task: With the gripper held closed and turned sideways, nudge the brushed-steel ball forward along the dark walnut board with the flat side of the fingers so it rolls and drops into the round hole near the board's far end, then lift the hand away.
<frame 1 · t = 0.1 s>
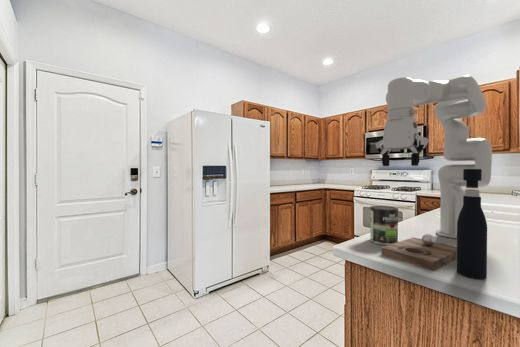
hand: (399, 165, 83), 31 cm above the worktop, fingers open, 9 cm apart
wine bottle: (471, 275, 68), on the worktop
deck: (421, 255, 84), on the worktop
ball: (428, 239, 86), point 4 cm above the worktop, touching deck
coffee can: (383, 241, 99), on the worktop
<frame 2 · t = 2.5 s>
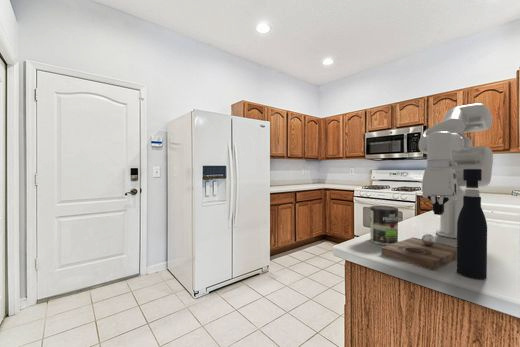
hand: (438, 214, 90), 13 cm above the worktop, fingers closed
nothing on the worktop moved.
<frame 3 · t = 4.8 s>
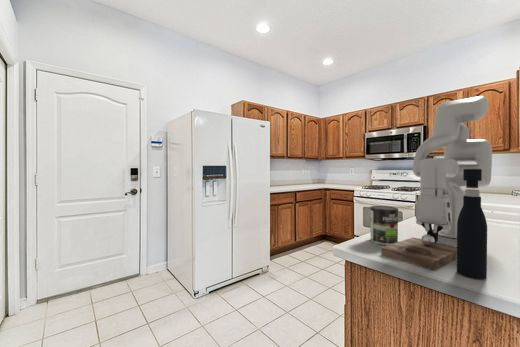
hand: (432, 242, 88), 3 cm above the worktop, fingers closed
ball: (427, 240, 86), point 5 cm above the worktop, tilted 9°, touching gripper
everything else where it was.
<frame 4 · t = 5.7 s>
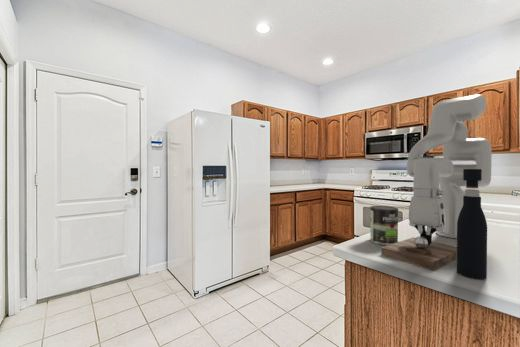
hand: (425, 244, 85), 3 cm above the worktop, fingers closed
ball: (421, 242, 83), point 5 cm above the worktop, tilted 92°, touching gripper
everything else where it was.
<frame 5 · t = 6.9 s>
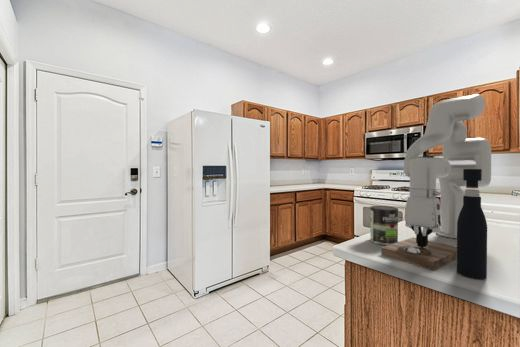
hand: (421, 246, 84), 3 cm above the worktop, fingers closed
ball: (413, 252, 81), point 2 cm above the worktop, tilted 122°
everything else where it was.
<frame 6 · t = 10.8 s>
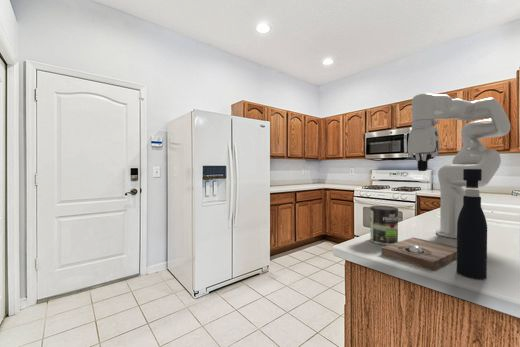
hand: (422, 170, 97), 29 cm above the worktop, fingers closed
ball: (415, 251, 81), point 2 cm above the worktop, tilted 157°
everything else where it was.
at the end: ball 0.7 cm from the target spot in the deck, point 2.0 cm above the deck's base; ball point 2.0 cm above the worktop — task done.
